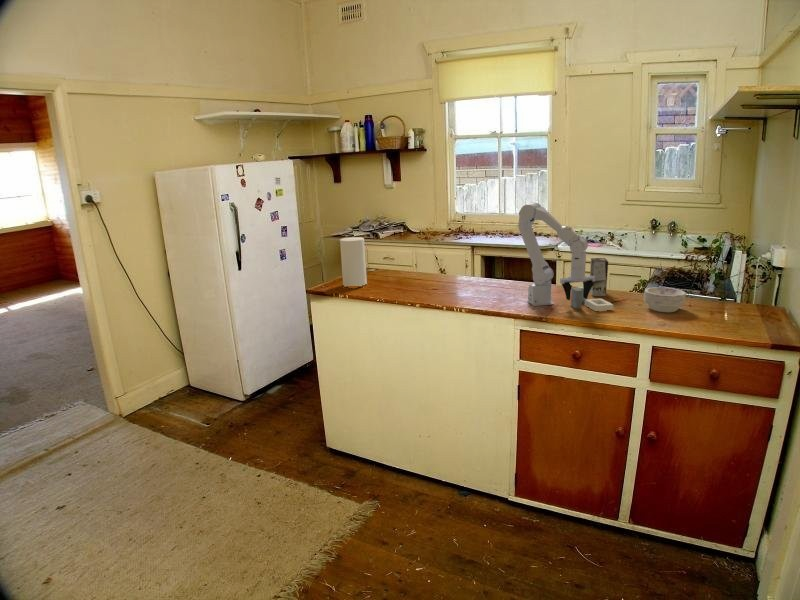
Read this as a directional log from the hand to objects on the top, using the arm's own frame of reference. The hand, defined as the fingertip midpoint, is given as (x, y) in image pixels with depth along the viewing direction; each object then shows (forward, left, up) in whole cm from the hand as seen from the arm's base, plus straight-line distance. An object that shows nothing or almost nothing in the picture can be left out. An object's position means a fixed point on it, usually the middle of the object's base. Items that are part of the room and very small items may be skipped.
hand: (576, 298), depth 223 cm
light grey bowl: (+32, -12, -4) cm, 34 cm away
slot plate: (+8, -3, -4) cm, 10 cm away
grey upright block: (+7, +9, -4) cm, 12 cm away
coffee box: (+19, +18, -4) cm, 26 cm away
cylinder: (-91, +67, -4) cm, 113 cm away
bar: (0, 0, -4) cm, 4 cm away
